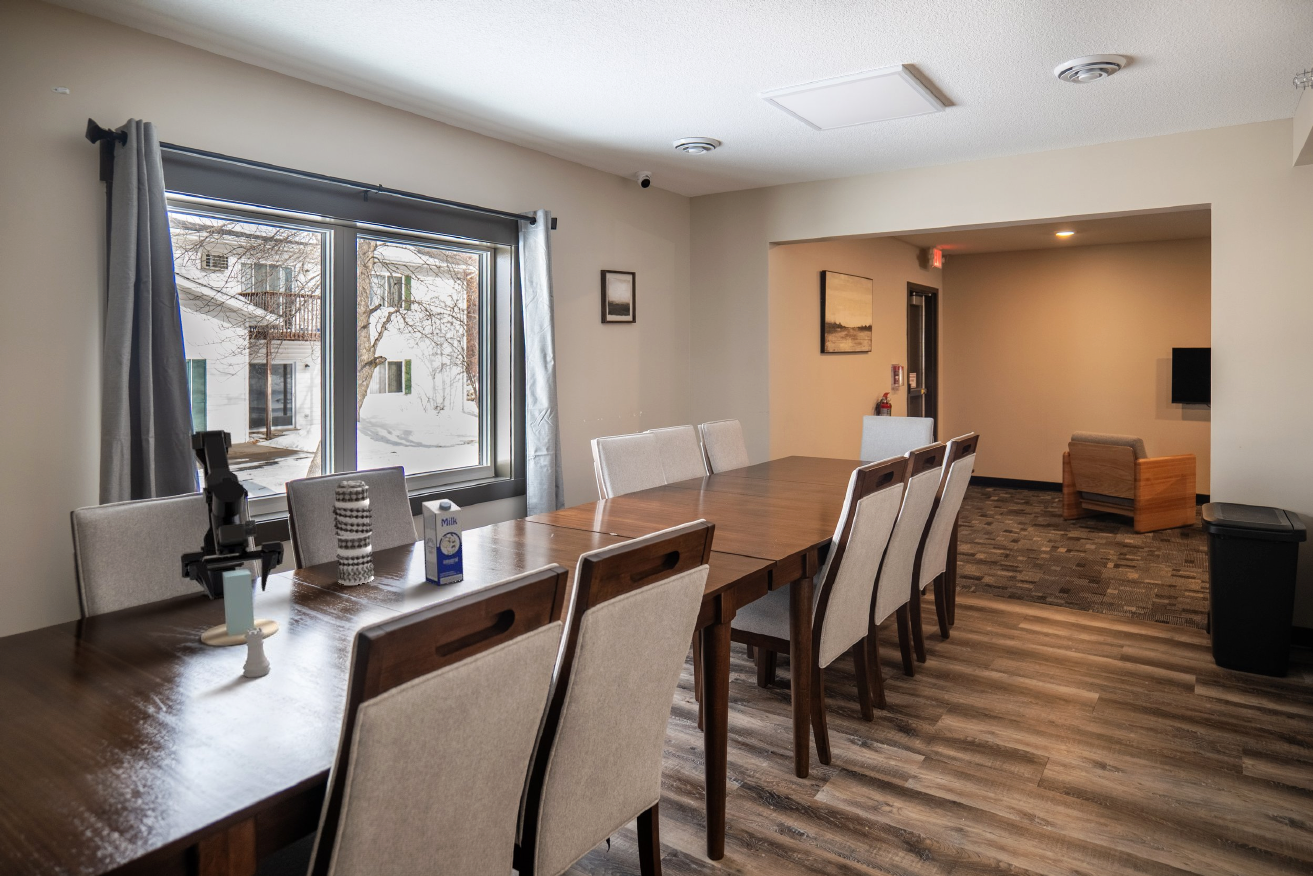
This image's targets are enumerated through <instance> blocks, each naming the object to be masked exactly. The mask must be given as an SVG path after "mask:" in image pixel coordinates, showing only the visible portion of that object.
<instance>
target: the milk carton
mask: <svg viewBox="0 0 1313 876" xmlns="http://www.w3.org/2000/svg"><path fill="white" fill-rule="evenodd" d="M421 503H422V526H423V552H424V575H425V578H424V579H425V582H427V581H428V583H430V582H431V583H430V584H432V583H434V584H433V585H435V584H436V585H435V586H438V587H440V586H441V587H442V586H445V584H446V585H448V584H447V583H450V584H453V583H452V582H454V583H456V582H455V581H459V580H463V581H464V562H463V559H464V558H463V557H464V556H463V533H462V532H463V530H462V508H460V507H459V506H457V504H456V503H454V502H453V501H452V500H449V499H448V498H445V499H444V498H443V499H437V500H430V501H423V502H421ZM459 582H460V581H459Z"/></svg>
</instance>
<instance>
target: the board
mask: <svg viewBox="0 0 1313 876" xmlns="http://www.w3.org/2000/svg"><path fill="white" fill-rule="evenodd" d="M254 628H257V630H259V628H262V631H263V632H264V633H265V634H264V636H263V638H262V640H263V639H266V637H267V638H269V637H271V636H273V635H274V633H275V632H276V631H277V630H278V631H279V629H280V628H279V623H278V622H276V621H274V620H272V619H271V620H270V619H264V618H263V619H254ZM278 631H277V632H278ZM277 632H276V633H277ZM276 633H275V634H276ZM272 634H273V635H272ZM245 635H246V633H244V634H238V635H233V636H229V635H228V632H227V630H226V623H223V624H219V625H217V626H214V627H211V628H209V629H207V630H205V631H204V632H203V633H202V634H201V636H200V638H201V642H202V643H203V644H206V645H207V646H208V645H209V646H215V647H216V646H217V647H221V646H222V647H224V646H227V647H228V646H238V645H244V644H245V645H246V644H247V642H248V641H247V639H246V638H245V637H244V636H245ZM270 635H271V636H270Z"/></svg>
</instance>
